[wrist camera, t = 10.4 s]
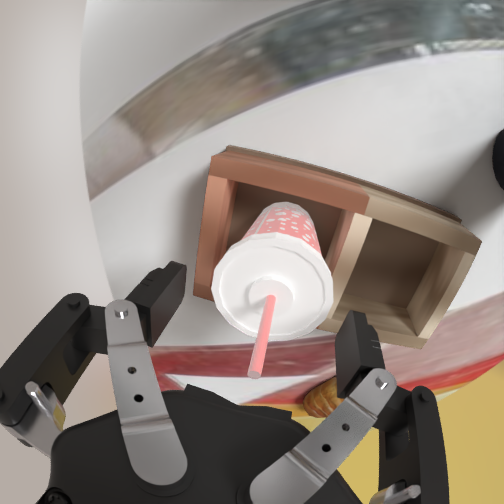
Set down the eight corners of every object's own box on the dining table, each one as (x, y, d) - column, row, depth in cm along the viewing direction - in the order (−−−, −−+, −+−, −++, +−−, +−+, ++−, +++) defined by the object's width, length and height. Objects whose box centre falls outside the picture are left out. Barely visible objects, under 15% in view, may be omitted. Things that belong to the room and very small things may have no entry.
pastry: (318, 412, 33) (317, 434, 30) (292, 389, 32) (289, 413, 28) (381, 388, 29) (385, 412, 26) (360, 361, 28) (363, 387, 24)
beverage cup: (261, 273, 24) (216, 420, 11) (233, 206, 21) (141, 322, 9) (333, 254, 22) (353, 407, 9) (310, 181, 20) (319, 283, 7)
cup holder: (230, 145, 20) (209, 150, 16) (456, 216, 19) (485, 238, 15) (209, 266, 25) (190, 297, 21) (407, 317, 24) (421, 351, 20)
